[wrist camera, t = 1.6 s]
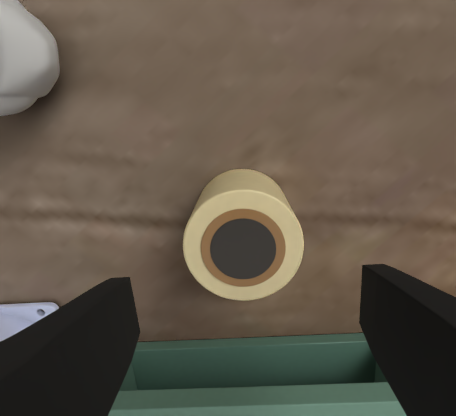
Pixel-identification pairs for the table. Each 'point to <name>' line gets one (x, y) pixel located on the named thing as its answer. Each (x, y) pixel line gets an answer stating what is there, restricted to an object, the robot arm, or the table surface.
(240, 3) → the table surface
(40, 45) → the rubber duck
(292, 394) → the desk shelf
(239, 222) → the tape roll
